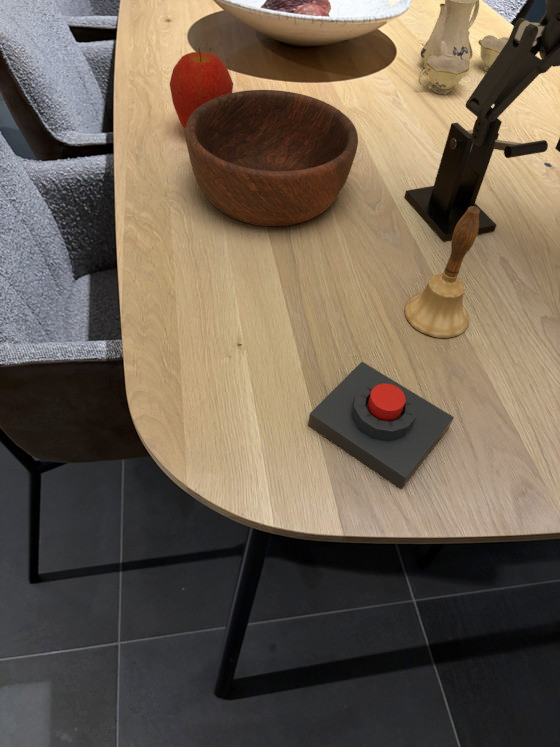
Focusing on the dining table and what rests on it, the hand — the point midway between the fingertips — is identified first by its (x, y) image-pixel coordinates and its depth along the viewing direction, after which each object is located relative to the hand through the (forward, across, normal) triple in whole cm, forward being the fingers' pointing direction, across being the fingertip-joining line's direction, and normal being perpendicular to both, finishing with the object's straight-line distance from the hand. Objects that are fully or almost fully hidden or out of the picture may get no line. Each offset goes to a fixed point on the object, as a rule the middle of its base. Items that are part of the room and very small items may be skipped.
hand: (520, 160), depth 76 cm
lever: (+2, 0, -5) cm, 5 cm away
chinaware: (+14, -28, -54) cm, 63 cm away
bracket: (+14, 0, -10) cm, 18 cm away
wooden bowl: (+15, +24, -24) cm, 37 cm away
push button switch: (+15, +29, +23) cm, 40 cm away
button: (+11, +29, +23) cm, 38 cm away
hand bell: (+15, +14, +9) cm, 22 cm away
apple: (+14, +29, -44) cm, 55 cm away
